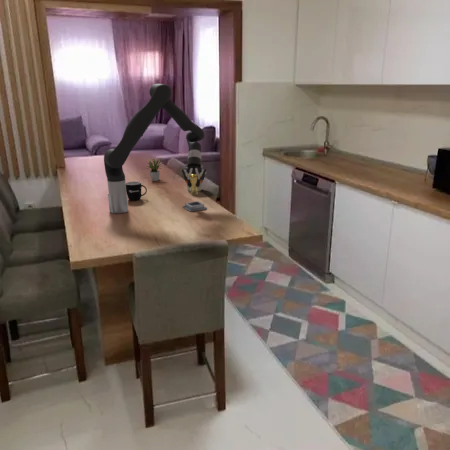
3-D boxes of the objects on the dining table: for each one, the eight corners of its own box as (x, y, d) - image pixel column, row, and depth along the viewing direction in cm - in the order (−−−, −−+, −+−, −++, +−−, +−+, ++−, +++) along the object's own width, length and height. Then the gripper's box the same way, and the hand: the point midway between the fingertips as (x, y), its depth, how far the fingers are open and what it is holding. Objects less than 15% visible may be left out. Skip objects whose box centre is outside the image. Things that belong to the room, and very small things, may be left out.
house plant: (169, 177, 312) (167, 155, 307) (164, 182, 299) (163, 158, 294) (149, 177, 313) (148, 155, 308) (144, 182, 300) (142, 158, 295)
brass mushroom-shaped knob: (192, 195, 232) (191, 175, 229) (188, 193, 236) (187, 174, 233) (200, 194, 234) (199, 174, 231) (196, 192, 238) (195, 172, 235)
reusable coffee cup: (201, 192, 271) (200, 168, 266) (182, 191, 273) (181, 168, 268) (206, 187, 282) (205, 164, 277) (187, 187, 285) (186, 164, 280)
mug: (127, 202, 252) (125, 185, 248) (126, 198, 260) (125, 181, 257) (148, 200, 254) (146, 183, 251) (146, 196, 263) (145, 180, 259)
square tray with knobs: (190, 212, 231) (190, 207, 231) (182, 207, 240) (182, 203, 239) (207, 209, 236) (206, 204, 235) (198, 204, 244) (198, 200, 243)
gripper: (180, 156, 236) (179, 183, 229) (206, 155, 236) (206, 182, 228) (182, 163, 243) (181, 190, 235) (207, 163, 243) (207, 190, 235)
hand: (193, 186), depth 232 cm, fingers closed on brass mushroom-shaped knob, 4 cm apart
